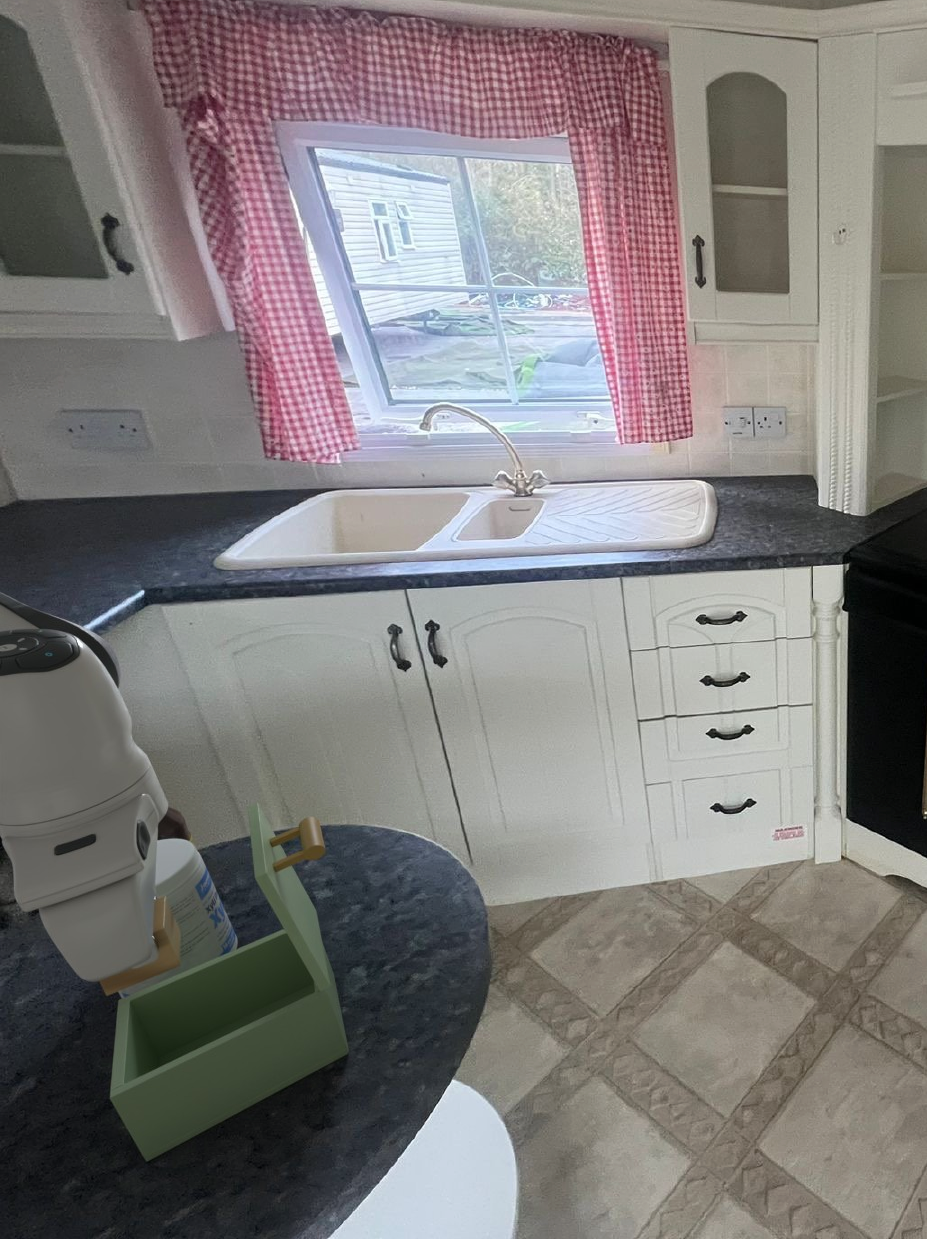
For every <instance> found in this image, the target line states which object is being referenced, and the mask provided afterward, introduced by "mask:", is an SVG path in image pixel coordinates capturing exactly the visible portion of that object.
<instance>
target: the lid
mask: <svg viewBox="0 0 927 1239" xmlns="http://www.w3.org/2000/svg"><path fill="white" fill-rule="evenodd" d="M247 815H248V824H249V833H250V834H249V835H250V844H251V855H252V863H253V872H254V879H255V881H256V882H257V884H258V886H259V888H260V889H261V891H262V893H263V895H264V898H266V900H267V902H268V904H269V905H270V907H271V909H272V910H273V912H274V914H275V916H276V917H277V919H278V921H279V923H280V924H281V926H282V928H283V929H285V931H286V933H287V935H288V936H289V938H290V940H291V942H292V943H293V945H294V947H295V949H296V950H297V952H298V954H299V955H300V957H301V959H302V961H303V962H304V964H305V966H306V968H307V969H308V971H309V973H310V975H311V976H312V978H313V980H314V981H315V983H316V985H317V987H318V988H319V990H320V992H321V991H323V990H325V989H327V988H328V987H330V981H329V976H328V971H327V965H326V960H325V955H324V949H323V946H324V943H323V940H322V933H321V928H320V923H319V919H318V918H319V917H318V913H317V909H316V907H315V906H314V904H313V902H312V900H311V898H310V896H309V895H308V893H307V891H306V889H305V887H304V885H303V884H302V881H301V880H300V877H299V876H298V874H297V873H296V871H295V869H294V867H293V866H294V865H297V864H298V863H300V862H302V861H304V860H306V861H317V860H319V859H321V858H322V857H323V856H324V855H325V853H326V846H325V841H324V836H323V832H322V828H321V827H322V826H321V823H320V819H319V818H318V817H316V816H308V817H305V818H304V819H302V820H301V821H300V822H299V823H298V826H296V827H294V828H292V829H290V830H287V831H285V832H282V833H280V834H277V835H276V834H275V832H274V830H273V828H272V826H271V824H270V823H269V820H268V819H267V817H266V815H265V814H264V812H263V810H262V808H261V806H260V804H259V803H258V802H257V803H254V804H251V805H249V806H247ZM298 837H299V838H300V842H301V843H300V844H301V848H302V850H300V851H297V852H295V853H292V854H290V855H288V856H287V854H286V853H285V851H284V848H283V846H282V844H285V843H287V842H289V841H291V840H294V839H296V838H298ZM322 943H323V944H322Z"/></svg>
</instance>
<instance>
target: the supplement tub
mask: <svg viewBox="0 0 927 1239" xmlns="http://www.w3.org/2000/svg"><path fill="white" fill-rule="evenodd" d="M195 846H196V845H195ZM195 846H194V845H193V844H192V843H191V842H189V841H187V840H183V839H164V840H158V841H157V859H156V879H155V889H156V893H157V895H158V897H159V898H161V897H164V896H166V899H167V901H168V903H169V906H170V908H171V911H172V913H173V915H174V918H175V920H176V922H177V925H178V927H179V930H180V932H181V948H180V966H178V967H176V968H174V969H171V970H169V971H166V972H164V973H161V974H159V975H157V976H154V977H152V978H149V979H147V980H145V981H142V982H140V983H137V984H135V985H132V986H130V987H128V988H125V989H123V990H120V991H118V992H117V993H118V995H119V996H120V999H122V998H125V997H127V996H129V995H132V994H134V993H136V992H139V991H141V990H143V989H146V988H148V987H150V986H153V985H155V984H157V983H160V982H162V981H164V980H167V979H169V978H171V977H173V976H176V975H178V974H180V973H183V972H185V971H187V970H190V969H192V968H194V967H197V966H199V965H201V964H204V963H206V962H208V961H211V960H213V959H215V958H218V957H220V956H222V955H225V954H227V953H229V952H232V951H234V950H236V949H238V942H239V941H238V937H237V935H236V932H235V930H234V928H233V925H232V923H231V921H230V919H229V916H228V913H227V911H226V909H225V907H224V905H223V902H222V900H221V898H220V895H219V893H218V891H217V888H216V886H215V884H214V881H213V879H212V877H211V875H210V872H209V870H208V868H207V865H206V864H205V862H204V859H203V858H202V855H201V854H200V852H199V851H198V849H197V850H196V848H197V847H196V848H195Z"/></svg>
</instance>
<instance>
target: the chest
mask: <svg viewBox="0 0 927 1239" xmlns="http://www.w3.org/2000/svg"><path fill="white" fill-rule="evenodd" d="M322 944H323V949H324V955H325V960H326V965H327V971H328V976H329V981H330V987H328V988H327V989H325V990H323V991H321V992H320V990H319V988H318V987H317V985H316V983H315V981H314V980H313V978H312V976H311V975H310V973H309V971H308V969H307V968H306V966H305V964H304V962H303V961H302V959H301V957H300V955H299V954H298V952H297V950H296V949H295V947H294V945H293V943H292V942H291V940H290V938H289V936H288V935H287V933H286V931H285V929H284V928H283V929H280V930H278V931H276V932H273V933H271V934H269V935H266V936H265V937H261V938H259V939H257V940H255V941H253V942H250V943H248V944H246V945H243V946H241V947H239V948H237V949H236V950H234V951H232V952H229V953H227V954H225V955H222V956H220V957H218V958H215V959H213V960H211V961H208V962H206V963H204V964H201V965H199V966H197V967H194V968H192V969H190V970H187V971H185V972H183V973H180V974H178V975H176V976H173V977H171V978H169V979H167V980H164V981H162V982H160V983H157V984H155V985H153V986H150V987H148V988H146V989H143V990H141V991H139V992H136V993H134V994H132V995H129V996H127V997H125V998H120V999H119V1000H118V1001H117V1010H116V1011H117V1012H116V1022H115V1023H116V1024H115V1034H114V1035H115V1036H114V1044H113V1057H112V1067H111V1068H112V1069H111V1080H110V1091H109V1092H110V1093H109V1100H110V1102H111V1103H112V1105H113V1107H114V1108H115V1110H116V1112H117V1113H118V1115H119V1117H120V1119H121V1120H122V1122H123V1124H124V1126H125V1127H126V1129H127V1131H128V1133H129V1134H130V1136H131V1138H132V1140H133V1141H134V1143H135V1145H136V1147H137V1149H138V1151H139V1152H140V1154H141V1155H142V1157H143V1158H144V1160H145V1162H150V1161H152V1160H153V1159H156V1158H158V1157H159V1156H160V1155H162V1154H164V1153H166V1152H169V1151H170V1150H172V1149H174V1148H175V1147H178V1146H180V1145H181V1144H183V1143H185V1142H187V1141H188V1140H191V1139H192V1138H194V1137H196V1136H198V1135H200V1134H201V1133H203V1132H205V1131H207V1130H209V1129H211V1128H212V1127H214V1126H216V1125H218V1124H220V1123H222V1122H224V1121H226V1120H227V1119H230V1118H231V1117H233V1116H235V1115H237V1114H239V1113H241V1112H242V1111H244V1110H246V1109H248V1108H250V1107H252V1106H254V1105H255V1104H257V1103H259V1102H261V1101H263V1100H265V1099H266V1098H268V1097H270V1096H272V1095H274V1094H276V1093H278V1092H279V1091H282V1090H284V1089H286V1088H287V1087H289V1086H291V1085H293V1084H295V1083H296V1082H298V1081H300V1080H302V1079H304V1078H306V1077H307V1076H309V1075H311V1074H313V1073H315V1072H316V1071H319V1070H320V1069H322V1068H324V1067H326V1066H328V1065H330V1064H331V1063H334V1062H336V1061H337V1060H339V1059H341V1058H343V1057H345V1056H347V1055H348V1054H349V1053H350V1050H349V1045H348V1040H347V1035H346V1028H345V1025H344V1019H343V1014H342V1009H341V1004H340V998H339V994H338V988H337V983H336V977H335V973H334V971H333V968H332V965H331V963H330V959H329V956H328V954H327V950H326V948H325V945H324V943H323V942H322Z"/></svg>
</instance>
